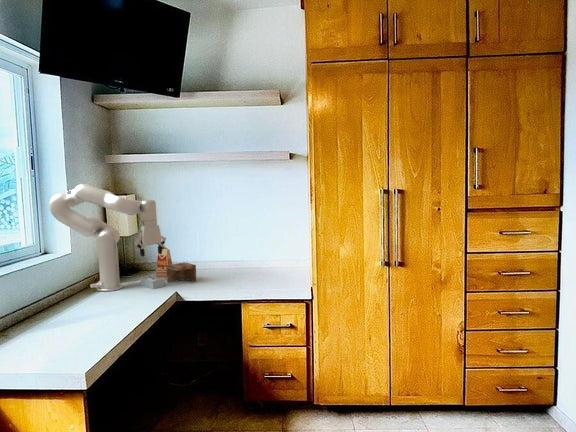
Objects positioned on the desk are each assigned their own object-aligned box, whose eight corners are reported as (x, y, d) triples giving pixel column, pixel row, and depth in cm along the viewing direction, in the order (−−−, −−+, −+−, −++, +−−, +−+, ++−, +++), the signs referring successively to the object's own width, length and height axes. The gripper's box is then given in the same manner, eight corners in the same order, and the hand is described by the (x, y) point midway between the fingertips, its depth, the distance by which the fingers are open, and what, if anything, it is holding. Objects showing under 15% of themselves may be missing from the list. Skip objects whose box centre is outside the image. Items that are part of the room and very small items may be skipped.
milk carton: (170, 278, 254) (168, 244, 252) (154, 279, 254) (152, 244, 252) (174, 275, 263) (173, 242, 261) (159, 275, 263) (157, 242, 262)
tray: (164, 287, 235) (163, 278, 235) (153, 289, 231) (152, 281, 230) (152, 284, 243) (151, 275, 243) (141, 286, 239) (140, 278, 238)
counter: (177, 285, 237) (176, 268, 236) (167, 281, 246) (166, 265, 245) (196, 281, 244) (195, 264, 243) (185, 278, 254) (184, 262, 253)
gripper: (136, 225, 226) (138, 258, 228) (167, 222, 238) (169, 253, 239) (130, 224, 232) (132, 256, 233) (161, 221, 243) (163, 252, 245)
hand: (151, 255), depth 236 cm, fingers open, 9 cm apart
